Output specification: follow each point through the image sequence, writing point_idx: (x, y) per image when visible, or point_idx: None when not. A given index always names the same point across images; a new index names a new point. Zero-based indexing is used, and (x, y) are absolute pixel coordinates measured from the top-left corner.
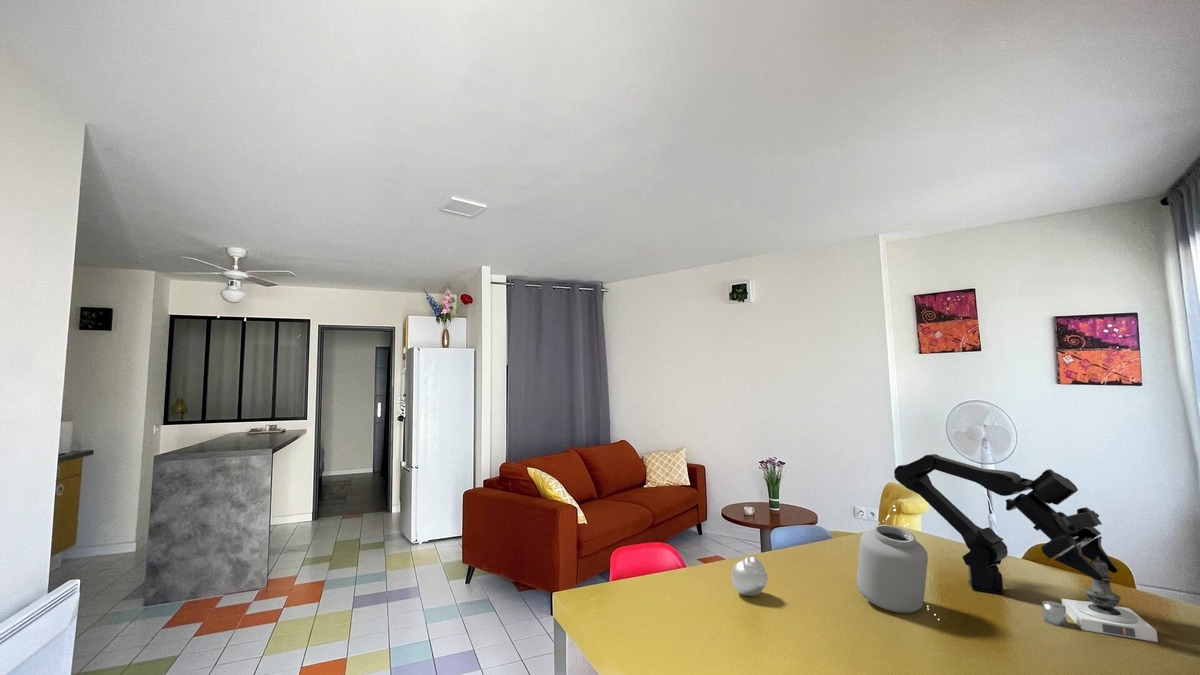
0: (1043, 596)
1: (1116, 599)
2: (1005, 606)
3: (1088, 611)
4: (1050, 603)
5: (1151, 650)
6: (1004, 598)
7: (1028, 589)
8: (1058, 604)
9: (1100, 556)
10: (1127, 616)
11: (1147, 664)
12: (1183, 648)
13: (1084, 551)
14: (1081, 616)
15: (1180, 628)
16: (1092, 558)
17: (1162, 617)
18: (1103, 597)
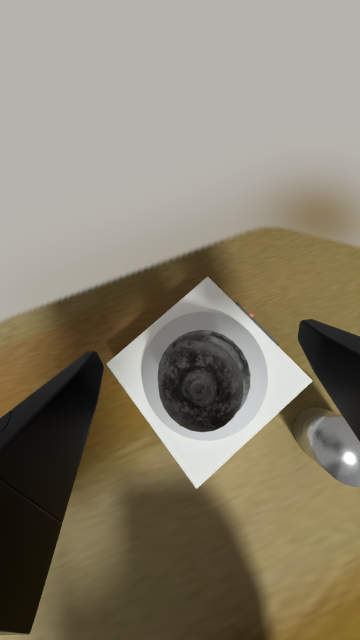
0: (143, 554)
1: (214, 332)
2: (352, 579)
3: (256, 388)
4: (352, 462)
5: (264, 273)
6: (284, 622)
7: (120, 618)
8: (333, 443)
9: (49, 437)
10: (195, 328)
11: (346, 247)
12: (193, 258)
13: (27, 565)
14: (295, 387)
15: (85, 302)
16: (67, 478)
17: (47, 341)
18: (242, 354)
